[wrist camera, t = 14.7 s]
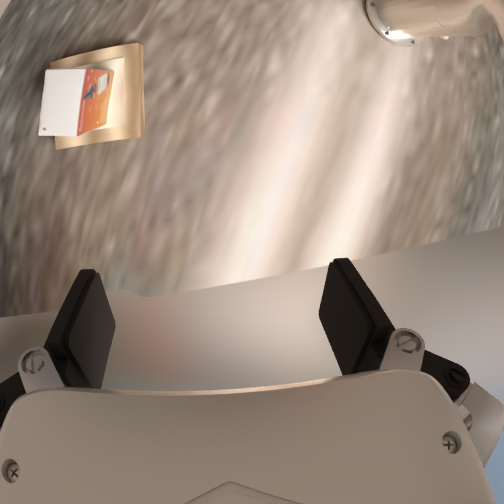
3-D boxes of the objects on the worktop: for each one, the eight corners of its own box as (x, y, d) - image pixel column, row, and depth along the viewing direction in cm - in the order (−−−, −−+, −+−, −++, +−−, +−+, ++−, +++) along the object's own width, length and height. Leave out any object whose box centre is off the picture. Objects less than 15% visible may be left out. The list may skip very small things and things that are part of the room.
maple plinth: (143, 45, 33) (137, 42, 30) (145, 133, 40) (139, 137, 37) (60, 62, 31) (49, 62, 28) (65, 144, 39) (55, 150, 35)
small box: (106, 125, 35) (77, 139, 26) (73, 122, 34) (37, 137, 25) (116, 70, 31) (87, 67, 22) (80, 69, 30) (44, 68, 21)
